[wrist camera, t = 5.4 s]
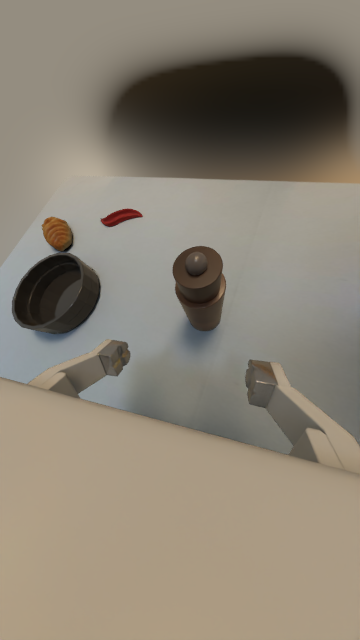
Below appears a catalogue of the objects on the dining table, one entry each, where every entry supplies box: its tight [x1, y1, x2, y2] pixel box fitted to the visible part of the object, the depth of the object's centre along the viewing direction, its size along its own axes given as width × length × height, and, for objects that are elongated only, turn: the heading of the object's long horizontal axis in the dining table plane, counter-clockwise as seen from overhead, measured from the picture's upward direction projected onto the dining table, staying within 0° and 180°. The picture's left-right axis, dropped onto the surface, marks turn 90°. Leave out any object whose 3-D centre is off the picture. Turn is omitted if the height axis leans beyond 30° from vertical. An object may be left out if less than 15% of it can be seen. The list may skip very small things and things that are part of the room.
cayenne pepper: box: [101, 209, 142, 226], centre depth 35 cm, size 12×5×2 cm, turn 75°
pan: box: [12, 253, 99, 334], centre depth 30 cm, size 16×16×4 cm
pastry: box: [42, 217, 73, 251], centre depth 37 cm, size 9×7×4 cm
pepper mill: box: [173, 246, 226, 331], centre depth 18 cm, size 5×5×14 cm
